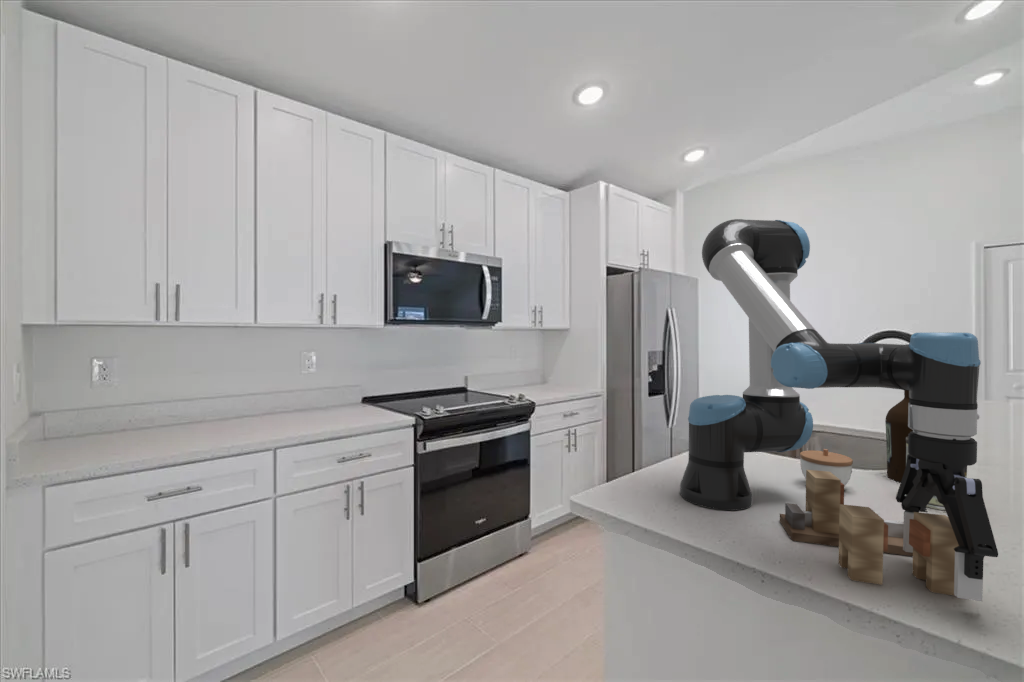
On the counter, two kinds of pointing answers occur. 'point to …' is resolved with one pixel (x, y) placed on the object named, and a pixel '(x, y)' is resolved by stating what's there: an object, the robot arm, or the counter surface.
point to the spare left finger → (862, 543)
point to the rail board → (801, 530)
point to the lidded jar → (827, 463)
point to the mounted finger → (824, 500)
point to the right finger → (933, 551)
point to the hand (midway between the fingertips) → (938, 573)
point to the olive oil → (897, 438)
